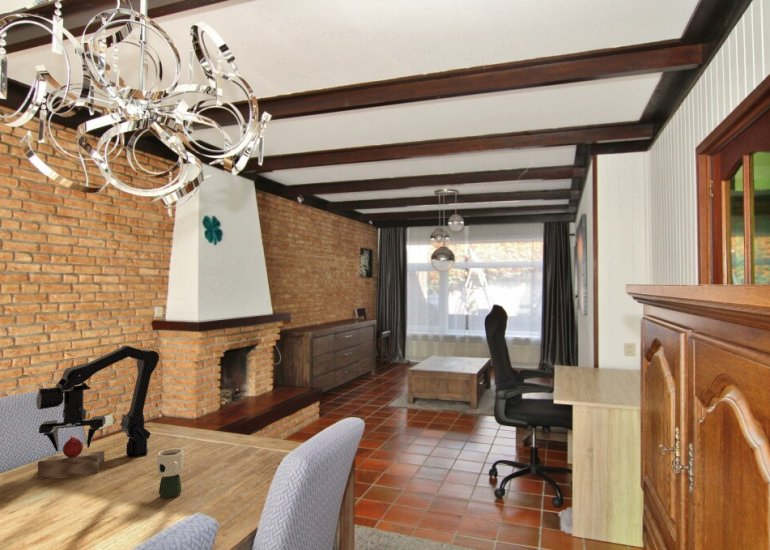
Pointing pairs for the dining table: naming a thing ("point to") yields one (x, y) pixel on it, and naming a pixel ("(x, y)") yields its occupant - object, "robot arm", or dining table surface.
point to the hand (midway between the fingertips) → (73, 449)
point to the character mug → (170, 472)
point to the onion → (72, 447)
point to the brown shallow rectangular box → (70, 465)
